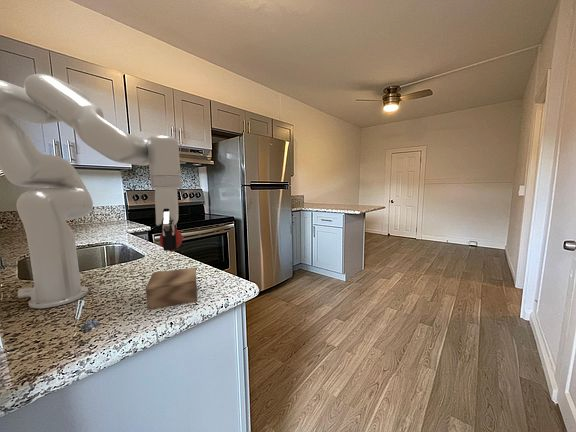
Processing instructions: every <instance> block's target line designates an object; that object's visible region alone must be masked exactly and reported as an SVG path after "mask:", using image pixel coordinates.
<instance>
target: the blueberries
mask: <svg viewBox="0 0 576 432" xmlns="http://www.w3.org/2000/svg"><path fill="white" fill-rule="evenodd" d="M100 325H101V323H100V321H99V320H97V319H91V318H90V319H88V320H87V321H85V322H84V323H83V324H82V325H81V326H80V330H83V331H82V333H84V334H85V333H89V332H91V331H92V330H95V329H96V328H97V327H99V326H100ZM70 331H71V332H73V330H72V329H71V330H70Z"/></svg>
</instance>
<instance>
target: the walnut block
mask: <svg viewBox="0 0 576 432" xmlns="http://www.w3.org/2000/svg"><path fill="white" fill-rule="evenodd" d="M197 285H198V284H197V268H196V266H195V267H188V268H180V269H171V270H162V271H154V272H152V274H151V276H150V278H149V280H148V282H147V284H146V285H145V295H146V296H145V297H146V307H147V310H149V311H150V310H154V309H159V308H167V307H172V306H179V305H184V304H191V303H196V302H197V300H198V292H197V291H198V289H197V288H198V286H197Z"/></svg>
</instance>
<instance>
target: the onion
mask: <svg viewBox="0 0 576 432" xmlns="http://www.w3.org/2000/svg"><path fill="white" fill-rule="evenodd" d="M171 228H172V227H171ZM174 232H175V235H176V244H177V249H179V247H181V244H182V242H183V235H182V233H181V231H179V229H178V228H177V229H176V228H174ZM162 236H163V231H162V232H161V233H160V235H159V239H158V240H159V244H160V245H161V247H162V248H163V237H162ZM175 251H176V250H169V251H168V252H170V253H173V252H175Z"/></svg>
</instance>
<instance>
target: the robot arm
mask: <svg viewBox="0 0 576 432" xmlns="http://www.w3.org/2000/svg"><path fill="white" fill-rule="evenodd" d="M11 118H13V119H18V120H21V121H24V122H25V121H26V122H29V123H34V124H38V125H39V124H45V125H46V124H52V123H60V122H63V123H64V124H65V125H68V126H69V127H70V128H72V129H73V130H74V131H75V133H76V135H77V136H78V137H79V139H80V140H81V141H82V142H83V143H84V144H85V145H87V146H88V147H90V148H91V149H93V150H94V151H95V152H98V153H99V154H101V155H102V156H104V157H105V158H107V159H109V160H111V161H113V162H116V163H121V164H127V165H134V166H140V167H144V166H149V178H150V180H149V181H150V189H154V205H155V206H154V207H155V225H156V226H158V227H159V226H161V225H162V232H163V236H162V237H163V247H162V248H163V251H165V252H166V251H168V252H170V251H169V250H175V251H176V250H177V249H178V248H177V244H176V235H175V232H174V228H176V229H177V230H178V227H177V223H178V221H179V197H178V196H179V195H178V189H182V178H181V177H182V173H181V163H180V149H179V147H180V146H179V142H178V140H177V139H176V138H175V137H174V136H169V135H161V134H160V135H157V134H156V135H151V136H149V137H148V138H144V137H139V136H137V135H135V134H130V133H128V132H125V131H122V130H120V129H119V128H118V127H116V126H115V125H113V124H112V123H110V122H109V121H107V120H106V119H104V112H103V110H102V109H101V108H100V107H99V106H98V105H97V104H95V103H93V102H92V101H91V100H90V97H89V96H88V95H87V93H85V92H84V91H82V90H81V89H79V88H78V87H76V86H74V85H71V84H69V83H67V82H65V81H63V80H61V79H59V78H57V77H55V76H52V75H49V74H45V73H34V74H30V75H28V76H27V77H26V78H25V80H24V83H23V87H21V86H19V85H16V84H13V83H11V82H8V81H5V80H1V79H0V170H1V172H2V174H3V175H4V176H5V178H6V179H7V181H9V182H10V183H11V184H13V185H15V186H18V187H22V188H23V187H25V188H34V189H29V190H27V191H25V192H24V193H21V195H20V196H19V197H18V198H17V200H16V210H17V214H18V216H19V218H20V221H21V223H22V225H23V228H24V231H25V235H26V240H27V247H28V252H29V259H30V265H31V266H30V267H31V273H32V279H33V285H34V286H33V287H24V288H19V289H18V290H17V298H18V299H22V298H27V297H29V298H30V299H29V300H28V302H27V303H28V307H29V308H32V309H48V308H53V307H58V306H62V305H63V306H64V305H67V304H69V303H73V302H75V301H77V300H80V299H82V298H83V297H85V296H86V295H88V293H89V288H88V287H87V286H86V285H81V276H80V269H79V260H78V251H77V244H76V238H75V234H74V231H73V229H72V228H71V227H70V225H69V224H68V223H67V221H70V220H76V219H81V218H84V217H87V216H88V215H89V214H91V212H92V210H93V207H94V205H93V204H94V203H93V199H92V195H91V193H90V192H89V190H88V189H87V186H86V185H85V183H84V182H83V180H82V178H81V176H80V175H79V173H78V171H77V169H76V168H75V166H73V165H72V163H70V162H69V161H68V160H67V159H65V158H63V157H61V156H58V155H53V154H46V153H43V152H40V151H39V150H38V149H37V148H36V146H35V144H34V142H33V141H32V139H31V137H30V136H29V134H28V133H27V132H26V131H25V130H24V129H23V128H22V127H21V126H19V125H18V124H17V123H16V122H15V121H13V119H11ZM171 227H172V228H171Z"/></svg>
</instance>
